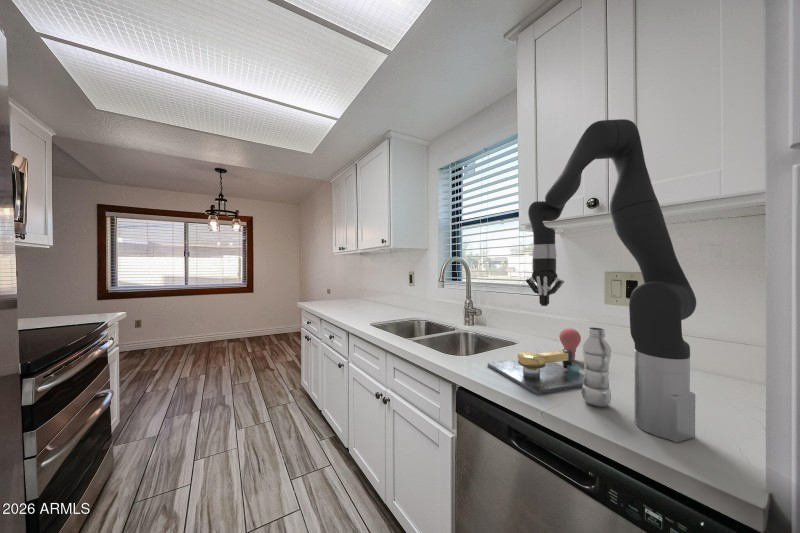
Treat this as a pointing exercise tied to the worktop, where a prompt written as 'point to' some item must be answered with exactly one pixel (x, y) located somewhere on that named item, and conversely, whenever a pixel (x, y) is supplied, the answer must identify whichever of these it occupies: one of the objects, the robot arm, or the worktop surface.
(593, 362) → the plastic bottle
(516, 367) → the base
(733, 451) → the worktop surface
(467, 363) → the worktop surface
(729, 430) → the worktop surface
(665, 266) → the robot arm
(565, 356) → the gold long piece
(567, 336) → the light bulb
